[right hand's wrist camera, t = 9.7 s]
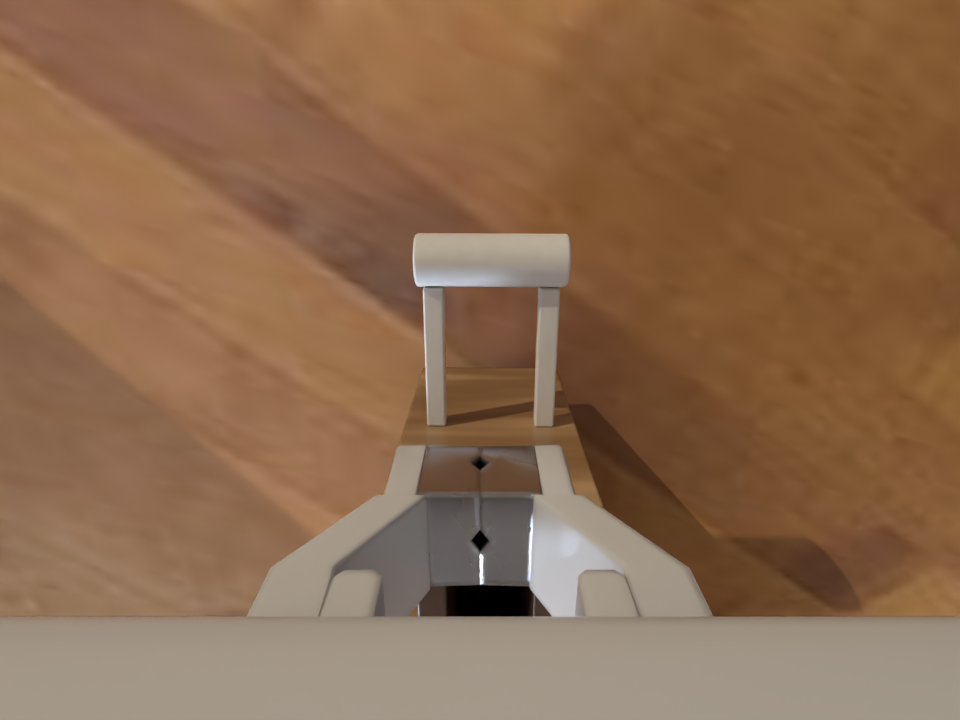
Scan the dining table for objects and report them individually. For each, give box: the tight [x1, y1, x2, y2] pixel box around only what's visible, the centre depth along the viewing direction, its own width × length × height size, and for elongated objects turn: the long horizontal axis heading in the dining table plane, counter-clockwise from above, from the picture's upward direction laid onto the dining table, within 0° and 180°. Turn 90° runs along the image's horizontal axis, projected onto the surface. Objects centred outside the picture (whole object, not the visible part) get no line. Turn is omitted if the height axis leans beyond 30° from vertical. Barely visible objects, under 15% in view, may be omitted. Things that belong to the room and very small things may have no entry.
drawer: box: [382, 233, 604, 616], centre depth 20 cm, size 24×6×10 cm, turn 0°
